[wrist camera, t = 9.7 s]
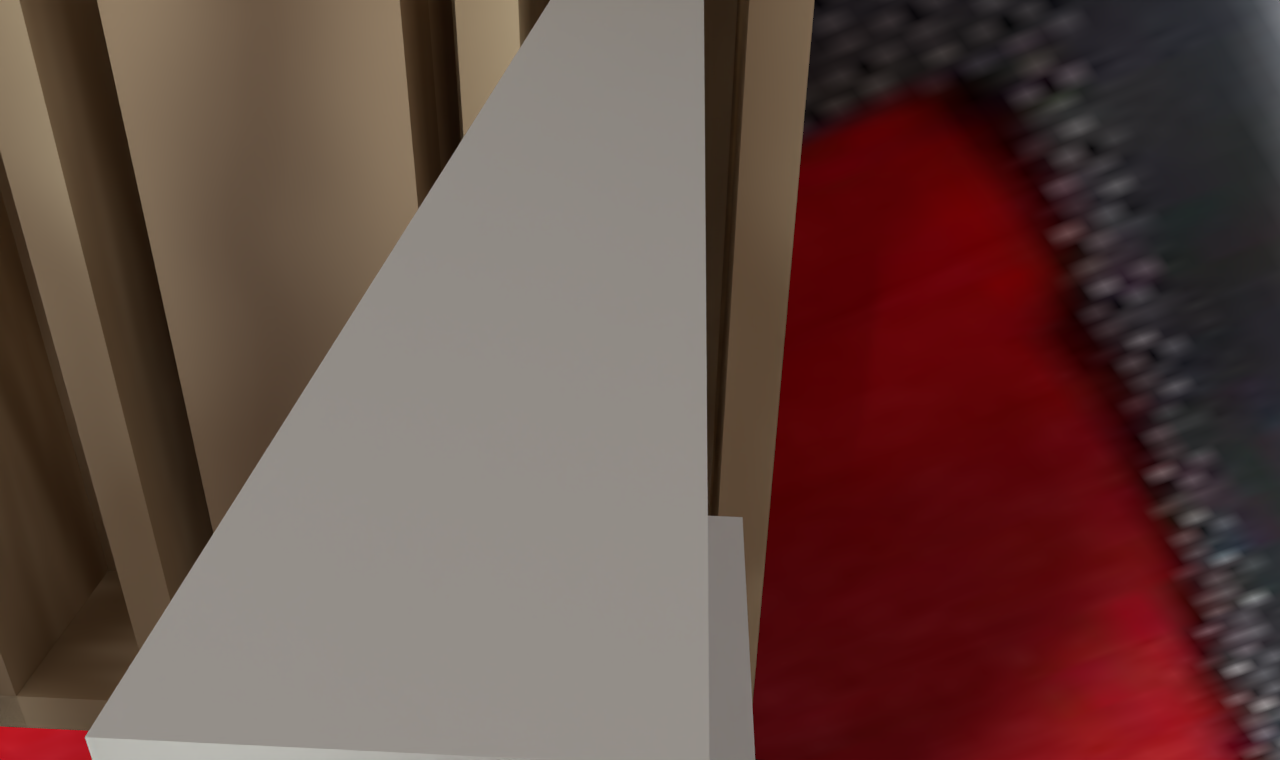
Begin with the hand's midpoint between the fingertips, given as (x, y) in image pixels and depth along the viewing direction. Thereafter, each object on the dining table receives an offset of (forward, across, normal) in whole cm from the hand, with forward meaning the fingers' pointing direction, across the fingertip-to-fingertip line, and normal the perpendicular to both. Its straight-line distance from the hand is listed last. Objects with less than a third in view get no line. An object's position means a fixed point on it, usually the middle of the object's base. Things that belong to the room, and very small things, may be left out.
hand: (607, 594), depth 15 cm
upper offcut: (+9, +6, 0) cm, 11 cm away
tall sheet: (+7, 0, 0) cm, 7 cm away
